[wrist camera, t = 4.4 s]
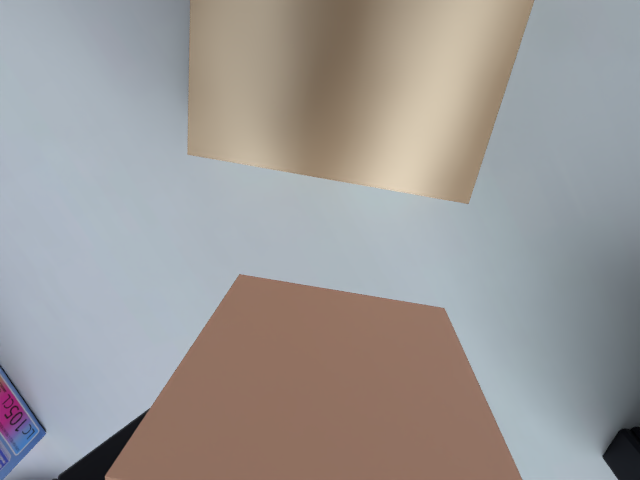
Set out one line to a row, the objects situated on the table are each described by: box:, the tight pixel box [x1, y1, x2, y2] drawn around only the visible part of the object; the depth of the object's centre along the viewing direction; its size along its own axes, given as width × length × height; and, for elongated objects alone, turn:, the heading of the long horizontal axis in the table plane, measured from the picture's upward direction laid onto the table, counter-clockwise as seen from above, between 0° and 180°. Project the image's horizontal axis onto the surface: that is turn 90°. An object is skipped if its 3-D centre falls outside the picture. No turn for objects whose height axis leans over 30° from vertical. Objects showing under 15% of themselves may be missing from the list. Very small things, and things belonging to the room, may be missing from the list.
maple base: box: [188, 0, 534, 204], centre depth 14 cm, size 12×12×3 cm
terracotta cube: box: [105, 274, 522, 480], centre depth 7 cm, size 5×5×5 cm
